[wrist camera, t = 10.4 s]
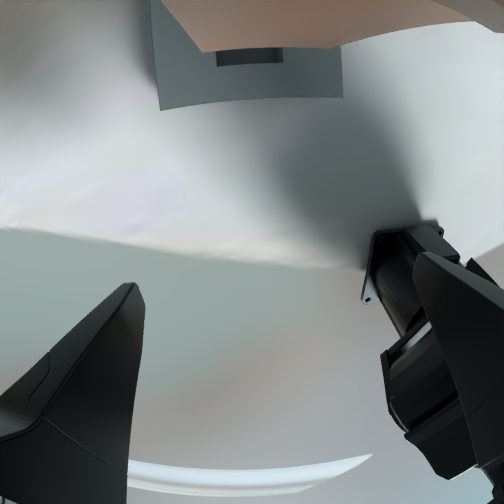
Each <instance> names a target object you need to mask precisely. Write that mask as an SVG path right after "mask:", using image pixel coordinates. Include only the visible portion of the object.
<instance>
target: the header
mask: <svg viewBox="0 0 504 504" xmlns="http://www.w3.org/2000/svg"><path fill="white" fill-rule="evenodd" d="M150 11H151V27H152V40H153V52H154V62H155V72H156V81H157V89H158V97H159V105H160V111H162V110H168V109H173V108H179V107H185V106H191V105H198V104H205V103H213V102H222V101H232V100H243V99H256V98H276V97H331V98H343V89H342V64H341V48H340V46H337V47H334V48H331V49H322V48H301V47H264V48H244V49H231V50H221V51H212V52H204V53H202V52H201V50H200V49H199V48H198V46H197V45H196V44H195V43H194V41H193V40H192V39H191V37H190V36H189V35H188V34H187V32H186V31H185V30H184V29H183V27H182V26H181V25H180V24H179V22H178V21H177V20H176V19H175V18H174V16H173V15H172V14H171V13H170V11H169V10H168V9H167V8H166V7H165V6H164V4H163V3H162V2H161V1H160V0H150Z"/></svg>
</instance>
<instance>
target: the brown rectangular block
mask: <svg viewBox="0 0 504 504" xmlns="http://www.w3.org/2000/svg"><path fill="white" fill-rule="evenodd" d="M160 1H161V2H162V3H163V4H164V6H165V7H166V8H167V9H168V10H169V11H170V13H171V14H172V15H173V16H174V18H175V19H176V20H177V21H178V22H179V24H180V25H181V26H182V27H183V29H184V30H185V31H186V32H187V34H188V35H189V36H190V37H191V39H192V40H193V41H194V43H195V44H196V45H197V46H198V48H199V49H200V50H201V52H202V53H204V52H212V51H221V50H231V49H244V48H264V47H301V48H322V49H331V48H334V47H337V46H340V45H343V44H347V43H350V42H353V41H357V40H361V39H364V38H368V37H372V36H376V35H380V34H385V33H389V32H394V31H399V30H404V29H409V28H415V27H421V26H428V25H435V24H443V23H453V22H467V21H476V22H478V23H479V24H481V25H483V26H485V27H487V28H488V29H490V30H492V31H493V32H495V33H504V0H160Z"/></svg>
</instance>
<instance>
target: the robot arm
mask: <svg viewBox="0 0 504 504" xmlns="http://www.w3.org/2000/svg"><path fill="white" fill-rule="evenodd" d="M443 235H444V229H443V228H442V227H440V226H430V225H421V226H409V227H403V228H401V229H391V230H379V231H377V232H375V233H374V234H373V237H372V242H371V248H370V254H369V259H368V265H367V270H366V275H365V280H364V285H363V290H362V294H361V300H362V302H363V304H371V303H377V302H381V304H382V305H383V307H384V309H385V310H386V312H387V314H388V316H389V318H390V320H391V321H392V323H393V325H394V327H395V329H396V331H397V332H398V334H399V336H400V339H399V340H398V341H397V342H396V343H395V344H394V345H393V346H391V348H389V349H388V350H385V351H384V352H383V353H382V354H381V355H380V358H381V363H382V371H383V377H384V384H385V392H386V399H387V404H388V411H389V413H390V415H391V416H392V418H393V419H394V421H395V422H396V424H397V425H398V426H399V427H400V428H401V429H402V430H403V431H405V432H406V433H405V434H404V437H405V439H406V440H408V441H409V442H411V443H412V444H414V445H415V446H416V447H417V448H418V449H419V450H420V451H421V452H422V453H423V454H424V456H425V457H426V459H427V460H428V462H429V463H430V465H431V467H432V468H433V470H434V471H435V473H436V474H437V475H439V476H441V477H443V478H445V479H447V480H451V479H453V478H455V477H457V476H458V475H461V474H462V473H464V472H466V471H467V470H469V469H471V468H473V467H474V468H479V469H481V470H482V471H483V472H484V473H485V474H486V476H487V477H488V479H489V480H490V482H491V483H492V484H493V486H494V487H493V490H492V494H493V498H494V499H493V500H491V501H490V502H489V503H487V504H504V289H502V288H500V287H499V286H498V285H497V284H496V282H495V281H494V280H493V279H492V278H491V277H490V276H489V275H488V274H487V273H486V272H485V271H484V270H483V269H482V268H481V267H480V266H479V265H478V264H477V263H476V262H475V261H474V260H473V259H472V258H470V260H469V261H468V262H467V264H466V265H467V266H466V267H464V266H463V264H462V263H461V262H460V261H459V260H460V255H459V253H458V252H457V251H456V250H455V249H454V248H453V247H452V246H451V245H450V244H449V243H448V242H447V241H446V240H445V239H444V238H443ZM381 236H382V237H381ZM379 237H381V239H379V240H378V238H379ZM366 298H367V299H366ZM144 319H145V303H144V300H143V297H142V295H141V292H140V290H139V287H138V285H137V284H136V283H135V282H130V283H123V284H122V285H121V286H120V287H118V288H117V289H116V290H115V291H114V292H113V293H111V294H110V295H109V296H108V297H107V298H106V299H105V300H103V302H101V303H100V304H99V305H98V306H97V307H96V308H94V309H93V310H92V311H91V312H90V313H89V314H88V315H87V316H86V317H85V318H83V319H82V320H81V321H80V322H79V323H78V324H77V325H76V326H75V327H74V328H72V329H71V331H69V332H68V333H67V334H66V335H65V336H64V337H63V338H62V339H61V340H60V341H59V342H58V343H57V344H56V345H55V346H54V347H53V348H52V349H50V352H47V353H46V354H45V355H44V356H43V357H42V358H41V359H40V360H39V361H38V362H37V363H36V364H35V365H34V366H33V367H32V368H31V369H30V370H29V371H28V372H27V373H25V374H24V375H23V376H22V377H21V378H20V379H19V380H18V381H17V382H15V383H14V384H13V385H12V386H11V387H10V388H8V389H7V390H6V391H5V392H4V393H3V394H2V395H1V396H0V504H126V496H127V471H128V456H129V445H130V434H131V425H132V416H133V408H134V400H135V393H136V386H137V380H138V373H139V367H140V361H141V355H142V346H143V331H144Z"/></svg>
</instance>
